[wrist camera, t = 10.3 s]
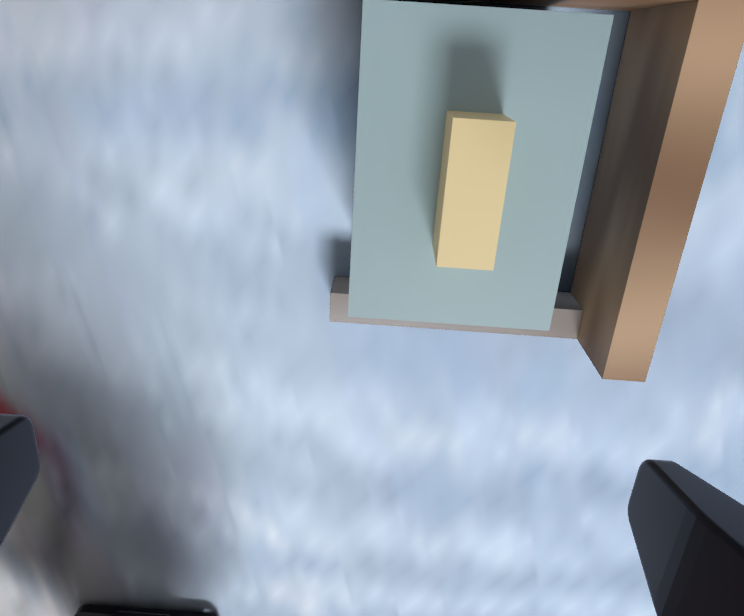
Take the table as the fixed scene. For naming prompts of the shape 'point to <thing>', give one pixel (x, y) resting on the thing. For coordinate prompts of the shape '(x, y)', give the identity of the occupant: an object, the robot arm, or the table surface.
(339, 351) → the table surface
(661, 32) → the cleat board
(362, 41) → the cabinet
